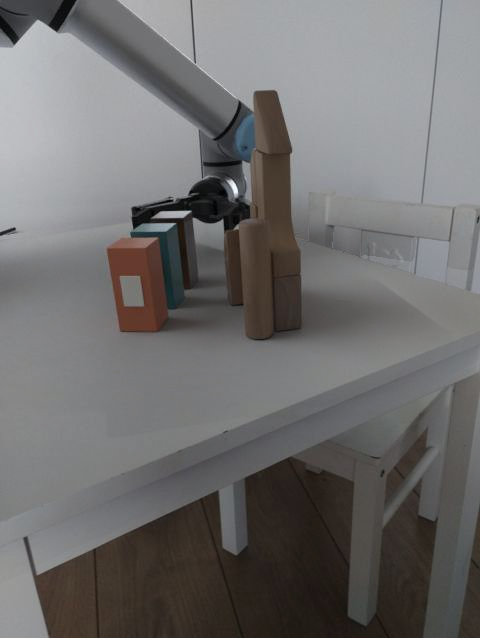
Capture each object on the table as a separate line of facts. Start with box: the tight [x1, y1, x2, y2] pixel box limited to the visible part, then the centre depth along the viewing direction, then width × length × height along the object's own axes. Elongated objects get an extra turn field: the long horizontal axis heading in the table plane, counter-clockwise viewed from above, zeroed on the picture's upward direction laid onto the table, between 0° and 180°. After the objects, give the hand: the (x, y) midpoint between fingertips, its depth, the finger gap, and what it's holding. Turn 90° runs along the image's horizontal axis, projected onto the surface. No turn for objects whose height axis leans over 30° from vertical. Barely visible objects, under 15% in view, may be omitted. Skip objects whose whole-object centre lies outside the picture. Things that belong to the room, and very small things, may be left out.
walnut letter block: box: [151, 211, 199, 290], centre depth 80 cm, size 5×5×10 cm
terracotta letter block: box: [106, 237, 169, 333], centre depth 67 cm, size 5×5×10 cm
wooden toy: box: [223, 89, 303, 340], centre depth 65 cm, size 16×7×25 cm, turn 13°
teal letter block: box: [129, 223, 185, 310], centre depth 73 cm, size 5×5×10 cm
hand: (179, 225), depth 82 cm, fingers open, 13 cm apart
